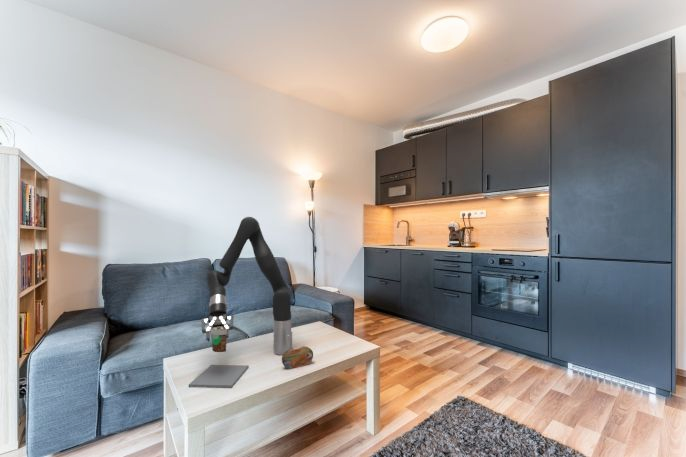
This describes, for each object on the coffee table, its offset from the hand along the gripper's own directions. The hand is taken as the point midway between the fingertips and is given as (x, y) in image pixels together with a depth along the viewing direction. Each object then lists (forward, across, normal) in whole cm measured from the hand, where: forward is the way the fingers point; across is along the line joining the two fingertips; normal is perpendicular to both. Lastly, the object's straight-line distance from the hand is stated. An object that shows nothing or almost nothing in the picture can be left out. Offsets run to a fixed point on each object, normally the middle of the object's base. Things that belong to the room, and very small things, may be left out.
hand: (217, 339), depth 127 cm
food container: (+2, 0, +5) cm, 5 cm away
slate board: (+12, +1, +11) cm, 16 cm away
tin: (+14, +35, +9) cm, 39 cm away
